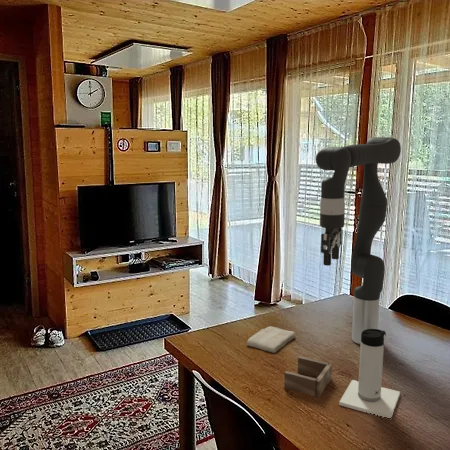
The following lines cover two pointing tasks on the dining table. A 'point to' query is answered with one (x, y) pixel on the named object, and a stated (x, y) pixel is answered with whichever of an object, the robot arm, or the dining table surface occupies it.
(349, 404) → the white mat
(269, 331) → the washcloth
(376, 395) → the travel mug
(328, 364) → the walnut cubby
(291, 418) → the dining table surface
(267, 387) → the dining table surface
